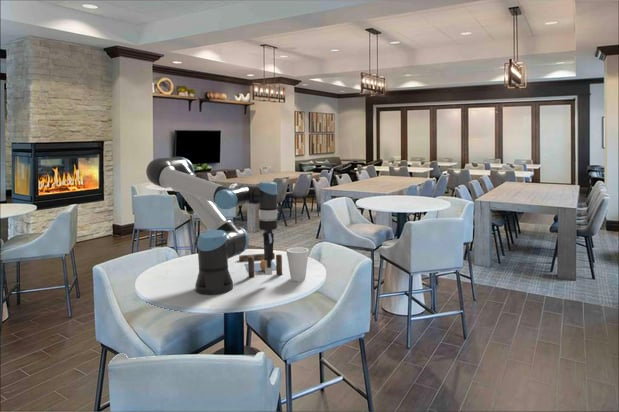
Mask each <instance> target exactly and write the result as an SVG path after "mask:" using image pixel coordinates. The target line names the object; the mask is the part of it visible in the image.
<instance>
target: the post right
mask: <svg viewBox="0 0 619 412" xmlns="http://www.w3.org/2000/svg"><path fill="white" fill-rule="evenodd" d="M282 255H283V254H279V253H278V254H275V266H276V270H275V271H276V276H282V275H283V256H282Z"/></svg>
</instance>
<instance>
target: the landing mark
mask: <svg viewBox="0 0 619 412" xmlns="http://www.w3.org/2000/svg"><path fill="white" fill-rule="evenodd" d="M244 266H245V268H246V270H247V272H248V263H245V264H244ZM272 271H276V263H275V262H274V261H272ZM256 272H257V273H259V272H260V273H261V272H265V271H264V270H262V269H261V268H260V262H257V263H256V262H254V273H256Z"/></svg>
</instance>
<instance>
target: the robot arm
mask: <svg viewBox="0 0 619 412" xmlns="http://www.w3.org/2000/svg"><path fill="white" fill-rule="evenodd" d="M194 169H195V168H194V165H193V163H192V162H191V161H190V159H188V158H185V157H183V156H172V157H158V158H155V159H152V160H151V161H150V162H149V163H148V164H147V167H146V170H145V171H146V177H147V180H148V181H149V182H150V183H151V184H152V185H155V186H157V187H161V188H163V189H169V188H170V189H172V191H174V192H175V193H177V192H179V194H180V195H181V196H182V198H184V200H185V201H186V202H187V204H188V205H189V207H190V208H191V209H192V210H193V211H194V212H195V214H196V215H197V216H198V217H199V219H200V220H201V222H202V223H203V225H204V226H205V227H206V228H207V230H208V231H204V232H202V233H201V234H199V236H198V238H197V245H196V247H197V255H198V256H197V257H198V275H197V278H196V281H195V292H196V293H198V294H202V295H220V294H224V293H227V292H229V291H232V290H233V288H234V281H233V279H232V276H231V274H230V271H229V262H228V261H229V260H228V259H232V258H234V257H235V256H238V255H242V253H243V252H245V251H246V250H247V249H248V247H249V240H250V239H249V234H248V232H247V230H245V228H243V227H240V226H237V225H235V223H234V222H233V221H232V220H229V219H226V218H225V216H224V215H223V214H222V213H221V211H220V210H219V209H221V210H230V209H233V208H236V207H241V206H244V205H247V204H248V205H258V218H259V220H258V228H259V229H260V230H262V231H263V233H262V237H263V252H264V253H263V254H264V256H265V259H263V260H265V271H264V275H265V276H269V275H270V276H271V275H273V270H272V262H273V253H274V244H275V241H274V240H275V239H274V237H275V235H274V233H273V230H277V229H278V220H277V219H278V214H279V210H278V184H277V183H276V182H275V181H260V182H259V183H258V185H257V186H256V185H244V184H242V185H241V184H240V185H235V186H234V187H228V186H225V185H221V184H219V183H216V182H213V181H210V180H208V179H207V180H206V179H204V178H201V177H198V176H196V175H195V170H194ZM217 207H218V208H219V209H218V208H217Z"/></svg>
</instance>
